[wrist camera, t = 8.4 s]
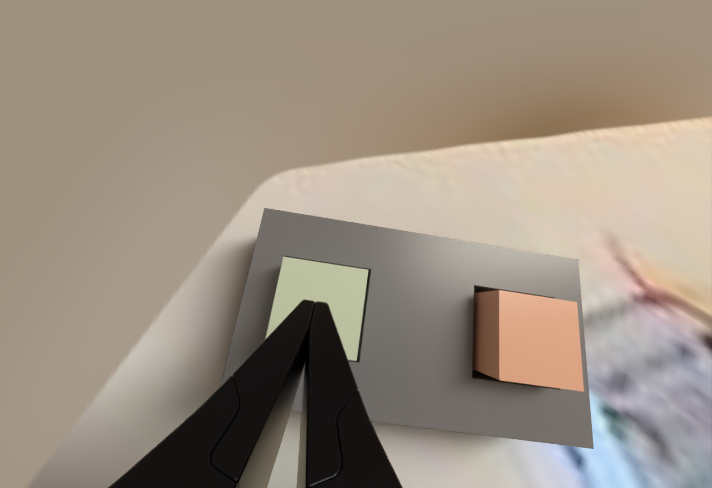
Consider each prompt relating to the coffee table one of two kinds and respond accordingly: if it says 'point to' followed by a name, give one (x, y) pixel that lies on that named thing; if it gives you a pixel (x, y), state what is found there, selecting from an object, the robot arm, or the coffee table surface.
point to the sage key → (323, 296)
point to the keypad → (422, 326)
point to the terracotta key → (527, 339)
